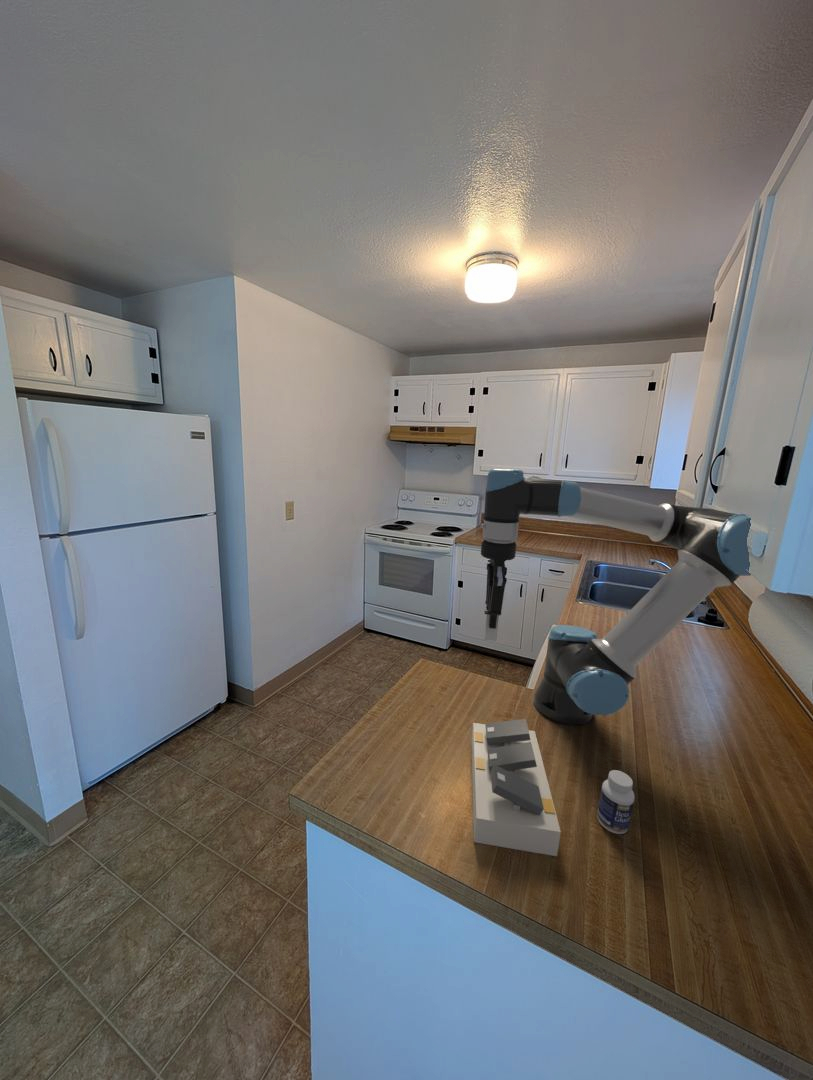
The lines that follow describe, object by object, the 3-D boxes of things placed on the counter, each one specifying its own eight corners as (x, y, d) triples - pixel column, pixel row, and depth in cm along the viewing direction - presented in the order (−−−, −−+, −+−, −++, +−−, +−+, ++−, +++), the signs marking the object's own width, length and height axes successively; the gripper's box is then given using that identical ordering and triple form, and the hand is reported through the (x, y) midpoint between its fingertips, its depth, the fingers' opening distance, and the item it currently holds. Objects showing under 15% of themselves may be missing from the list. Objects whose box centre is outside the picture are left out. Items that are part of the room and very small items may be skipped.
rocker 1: (526, 725, 91) (525, 718, 91) (530, 740, 86) (529, 732, 86) (486, 729, 92) (485, 722, 92) (487, 744, 88) (486, 737, 87)
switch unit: (532, 750, 95) (535, 726, 93) (556, 856, 69) (561, 826, 68) (471, 741, 96) (473, 718, 95) (473, 842, 71) (477, 812, 70)
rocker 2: (532, 748, 83) (530, 741, 83) (536, 766, 78) (534, 758, 78) (489, 755, 85) (487, 748, 84) (490, 773, 80) (488, 766, 80)
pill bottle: (614, 839, 73) (623, 793, 71) (590, 815, 78) (597, 771, 76) (635, 829, 75) (644, 784, 73) (610, 806, 80) (618, 763, 78)
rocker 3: (534, 792, 76) (539, 785, 76) (539, 815, 71) (544, 808, 71) (490, 770, 76) (494, 763, 76) (492, 792, 71) (496, 784, 71)
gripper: (479, 533, 96) (471, 626, 101) (485, 545, 84) (476, 650, 88) (511, 535, 96) (502, 628, 101) (522, 547, 83) (511, 653, 88)
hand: (490, 638), depth 95 cm, fingers closed
